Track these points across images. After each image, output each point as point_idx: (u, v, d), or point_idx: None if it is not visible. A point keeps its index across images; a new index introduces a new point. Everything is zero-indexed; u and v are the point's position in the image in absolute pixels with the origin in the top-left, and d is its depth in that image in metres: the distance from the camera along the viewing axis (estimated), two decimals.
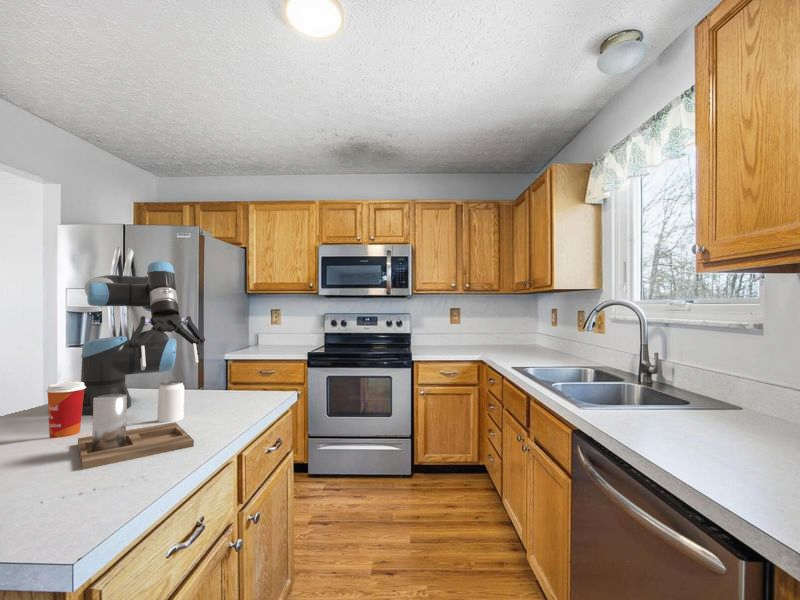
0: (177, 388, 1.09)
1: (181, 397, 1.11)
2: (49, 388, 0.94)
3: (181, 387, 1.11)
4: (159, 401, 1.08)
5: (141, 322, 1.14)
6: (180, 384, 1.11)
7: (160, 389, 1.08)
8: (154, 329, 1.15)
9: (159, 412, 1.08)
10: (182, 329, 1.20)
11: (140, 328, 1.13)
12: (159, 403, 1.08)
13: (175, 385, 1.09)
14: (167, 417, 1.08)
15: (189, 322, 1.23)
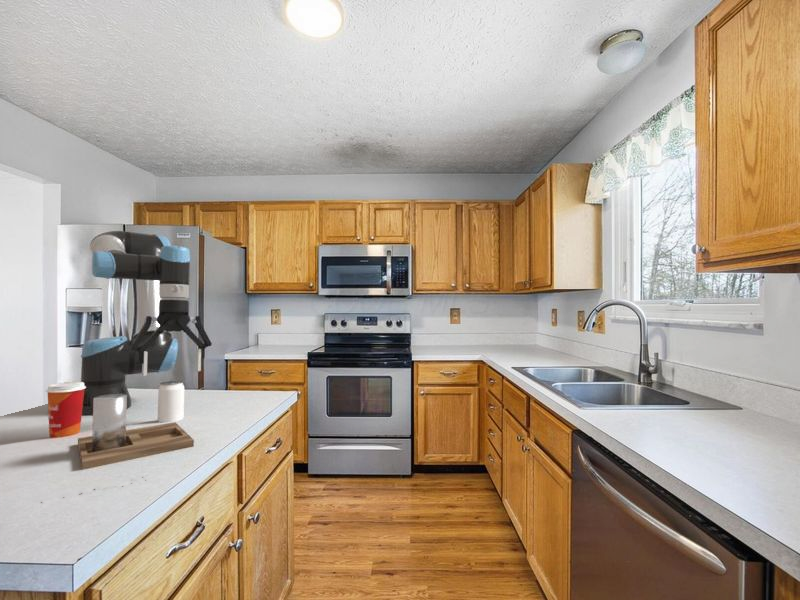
0: (177, 388, 1.09)
1: (181, 397, 1.11)
2: (49, 388, 0.94)
3: (181, 387, 1.11)
4: (159, 401, 1.08)
5: (146, 323, 1.06)
6: (180, 384, 1.11)
7: (160, 389, 1.08)
8: (160, 332, 1.08)
9: (159, 412, 1.08)
10: (189, 332, 1.13)
11: (145, 331, 1.06)
12: (159, 403, 1.08)
13: (175, 385, 1.09)
14: (167, 417, 1.08)
15: (198, 323, 1.15)
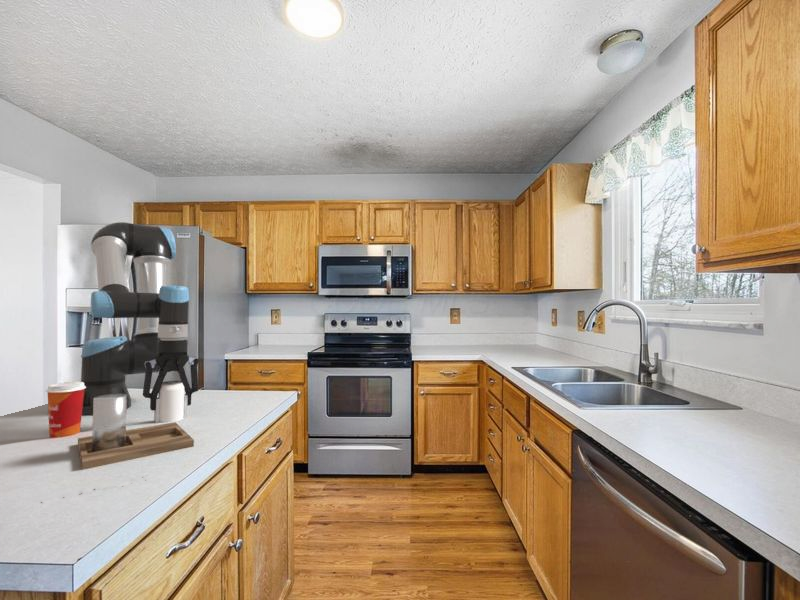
0: (177, 388, 1.09)
1: (182, 397, 1.11)
2: (49, 388, 0.94)
3: (181, 387, 1.11)
4: None
5: (148, 369, 1.06)
6: (180, 384, 1.11)
7: (160, 389, 1.08)
8: (163, 375, 1.08)
9: (159, 412, 1.08)
10: (182, 374, 1.12)
11: (150, 377, 1.06)
12: None
13: (175, 385, 1.09)
14: (167, 417, 1.08)
15: (194, 366, 1.14)
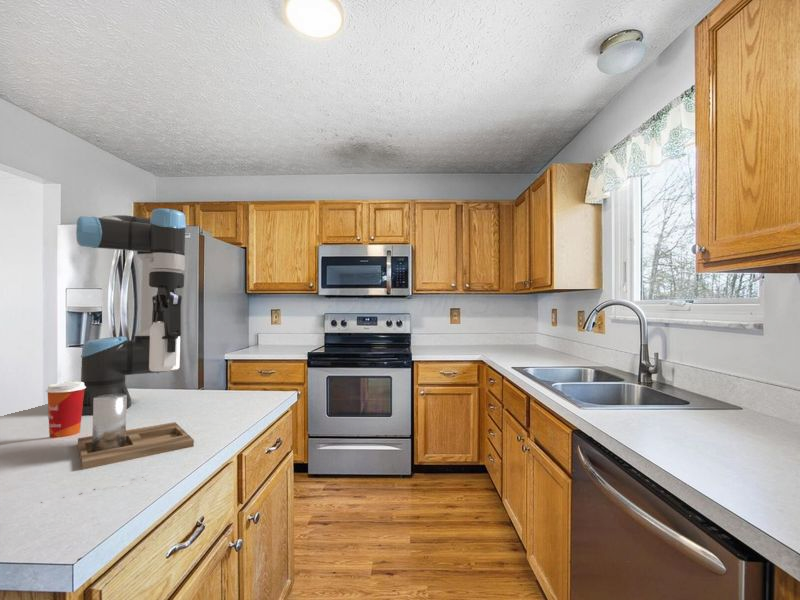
0: (153, 327, 0.93)
1: (157, 340, 0.92)
2: (49, 388, 0.94)
3: (157, 327, 0.92)
4: None
5: (153, 304, 0.99)
6: (158, 324, 0.93)
7: None
8: (157, 312, 0.96)
9: None
10: (163, 313, 0.93)
11: (153, 312, 0.98)
12: None
13: (153, 324, 0.93)
14: None
15: (168, 304, 0.91)
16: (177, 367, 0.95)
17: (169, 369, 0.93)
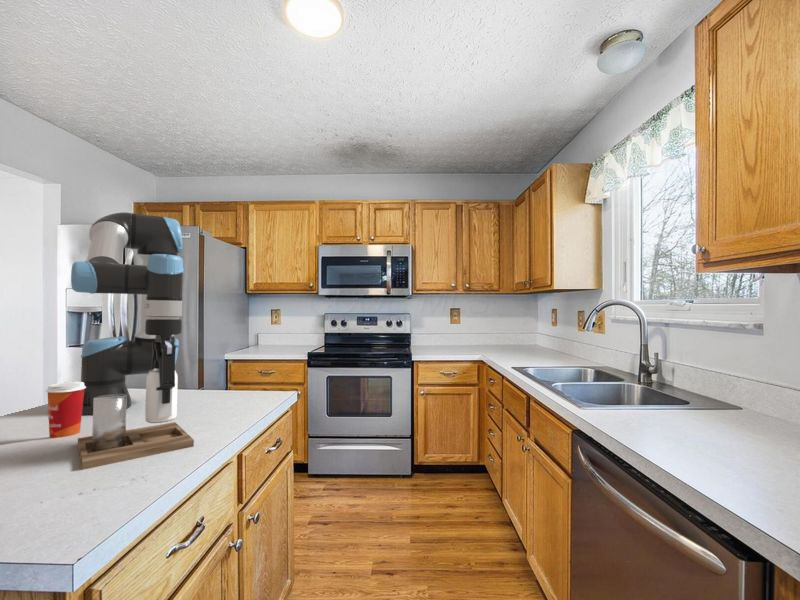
0: (148, 377, 0.90)
1: (152, 390, 0.90)
2: (49, 388, 0.94)
3: (152, 377, 0.90)
4: None
5: (152, 349, 0.97)
6: (153, 373, 0.90)
7: None
8: (154, 359, 0.94)
9: None
10: (159, 362, 0.90)
11: (152, 358, 0.96)
12: None
13: (149, 373, 0.91)
14: None
15: (162, 354, 0.88)
16: (173, 417, 0.92)
17: (164, 420, 0.90)
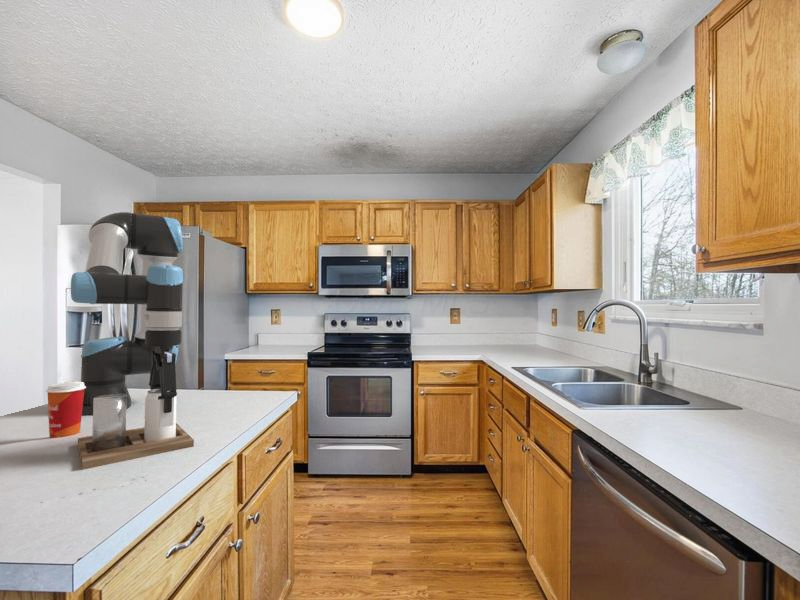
0: (147, 398, 0.91)
1: (151, 411, 0.90)
2: (49, 388, 0.94)
3: (151, 398, 0.90)
4: None
5: None
6: (152, 394, 0.91)
7: None
8: None
9: None
10: (159, 372, 0.90)
11: (151, 365, 0.97)
12: None
13: (148, 394, 0.91)
14: None
15: (162, 363, 0.88)
16: None
17: None
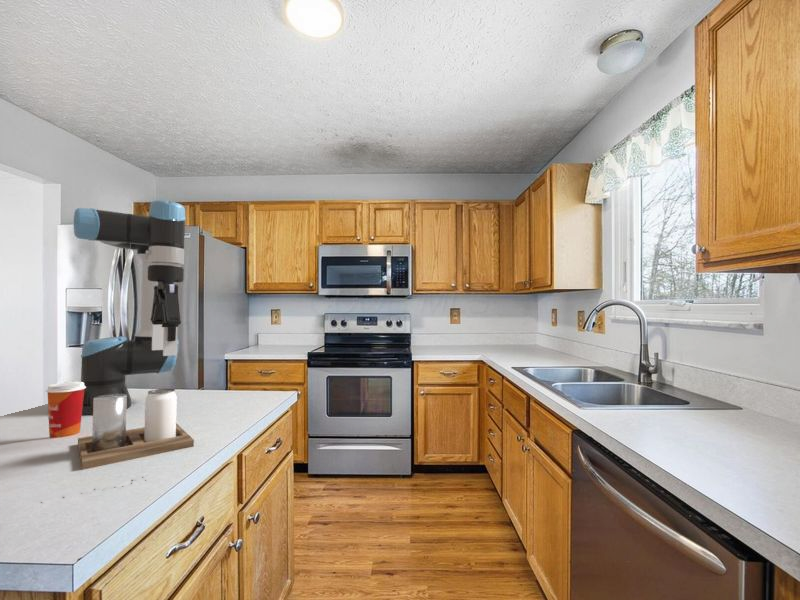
0: (147, 398, 0.90)
1: (151, 412, 0.90)
2: (49, 388, 0.94)
3: (151, 399, 0.90)
4: None
5: (154, 293, 0.98)
6: (152, 395, 0.90)
7: None
8: None
9: None
10: (162, 305, 0.90)
11: (153, 302, 0.98)
12: None
13: (148, 394, 0.91)
14: None
15: (165, 294, 0.88)
16: None
17: None
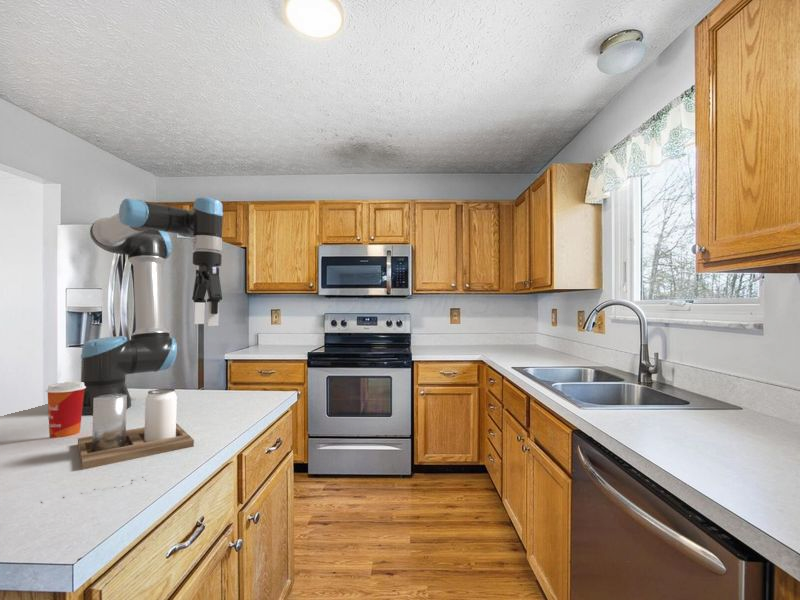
0: (147, 398, 0.90)
1: (151, 412, 0.90)
2: (49, 388, 0.94)
3: (151, 399, 0.90)
4: None
5: None
6: (152, 395, 0.90)
7: None
8: (198, 284, 1.14)
9: None
10: (206, 284, 1.08)
11: (195, 283, 1.16)
12: None
13: (148, 394, 0.91)
14: None
15: (209, 275, 1.07)
16: None
17: None
